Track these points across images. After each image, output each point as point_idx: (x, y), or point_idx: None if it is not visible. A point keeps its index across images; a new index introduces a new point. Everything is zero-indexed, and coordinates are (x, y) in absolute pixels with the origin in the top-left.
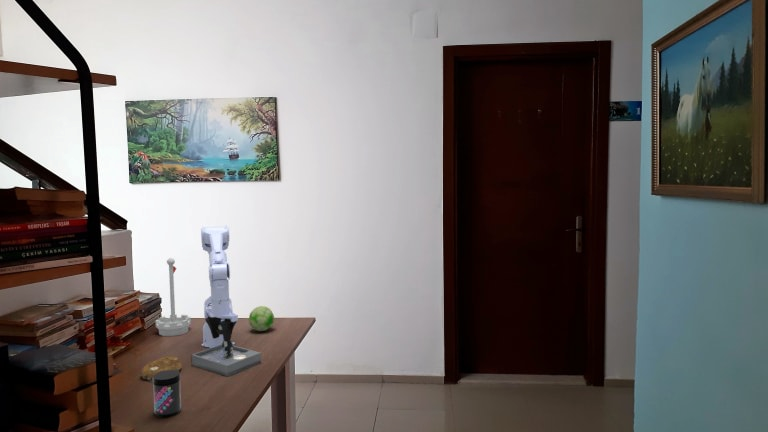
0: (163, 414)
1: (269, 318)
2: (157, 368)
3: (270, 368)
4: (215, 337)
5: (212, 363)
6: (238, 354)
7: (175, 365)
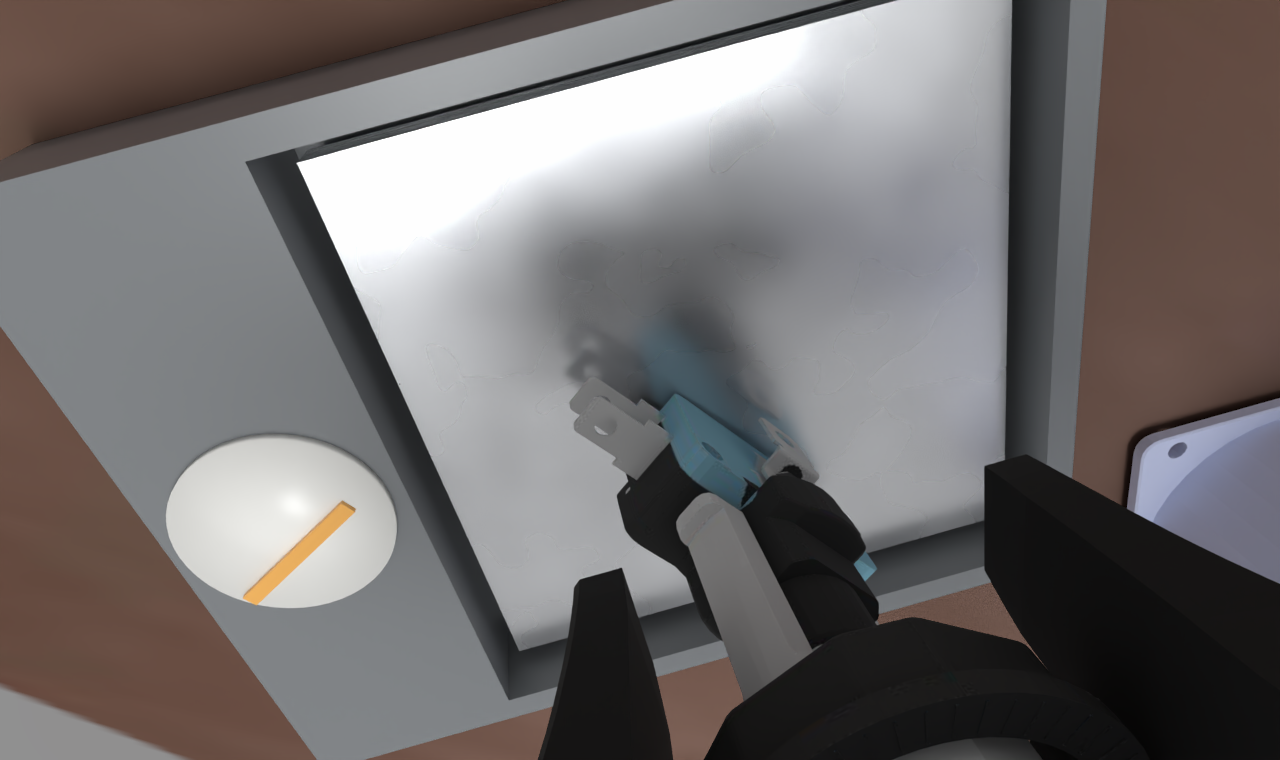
0: None
1: None
2: None
3: (82, 673)
4: (993, 508)
5: (402, 68)
6: (578, 556)
7: None
